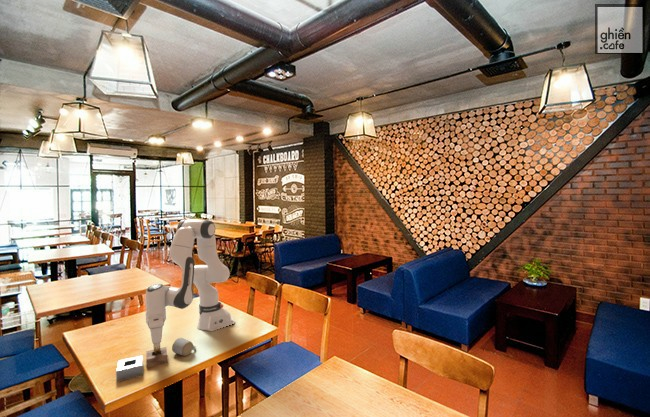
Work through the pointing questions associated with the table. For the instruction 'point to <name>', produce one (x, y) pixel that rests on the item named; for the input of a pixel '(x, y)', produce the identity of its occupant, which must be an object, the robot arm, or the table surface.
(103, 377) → the table surface
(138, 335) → the table surface
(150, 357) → the mount
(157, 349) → the pin
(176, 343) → the ceramic mug
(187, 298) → the robot arm
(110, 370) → the table surface
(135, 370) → the socket
